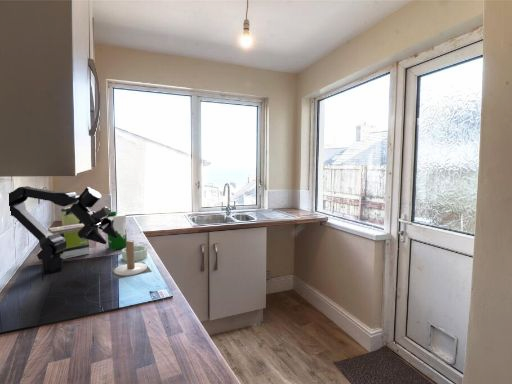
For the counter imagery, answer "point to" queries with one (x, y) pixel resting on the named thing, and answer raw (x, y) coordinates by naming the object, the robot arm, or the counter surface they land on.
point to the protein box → (69, 218)
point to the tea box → (72, 240)
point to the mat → (130, 275)
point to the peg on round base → (130, 263)
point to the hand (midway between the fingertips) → (111, 240)
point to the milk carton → (118, 232)
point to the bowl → (136, 253)
